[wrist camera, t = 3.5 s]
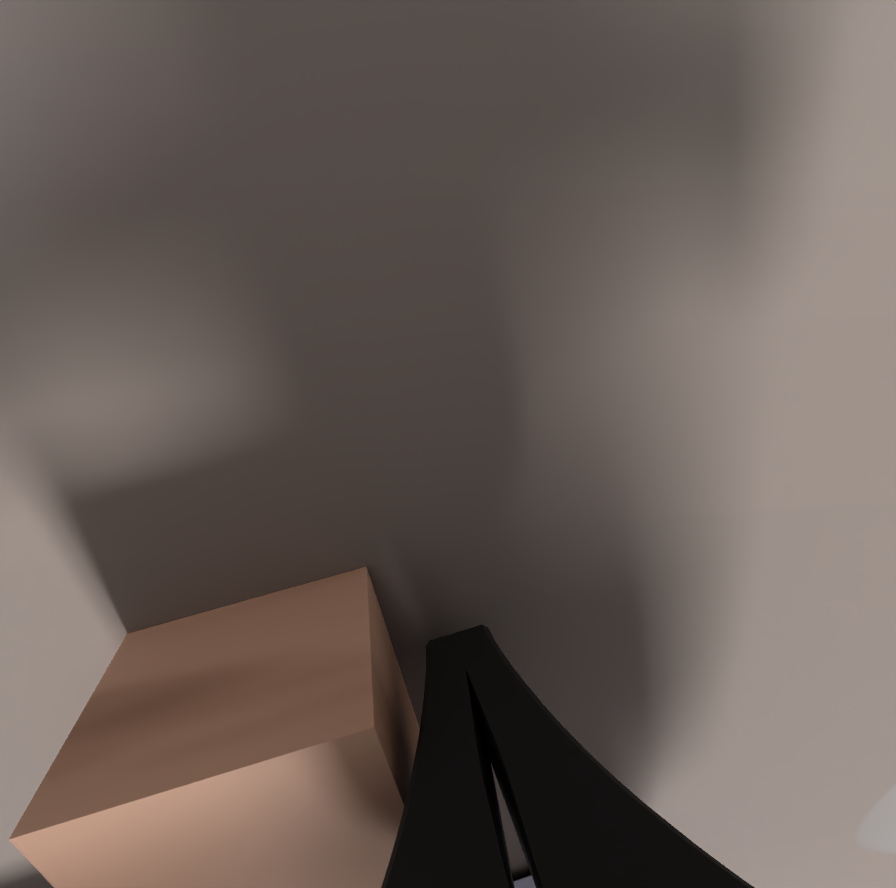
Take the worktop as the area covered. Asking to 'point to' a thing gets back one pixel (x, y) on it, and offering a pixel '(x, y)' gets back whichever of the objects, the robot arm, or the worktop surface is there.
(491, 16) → the worktop surface
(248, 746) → the terracotta block
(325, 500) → the worktop surface
